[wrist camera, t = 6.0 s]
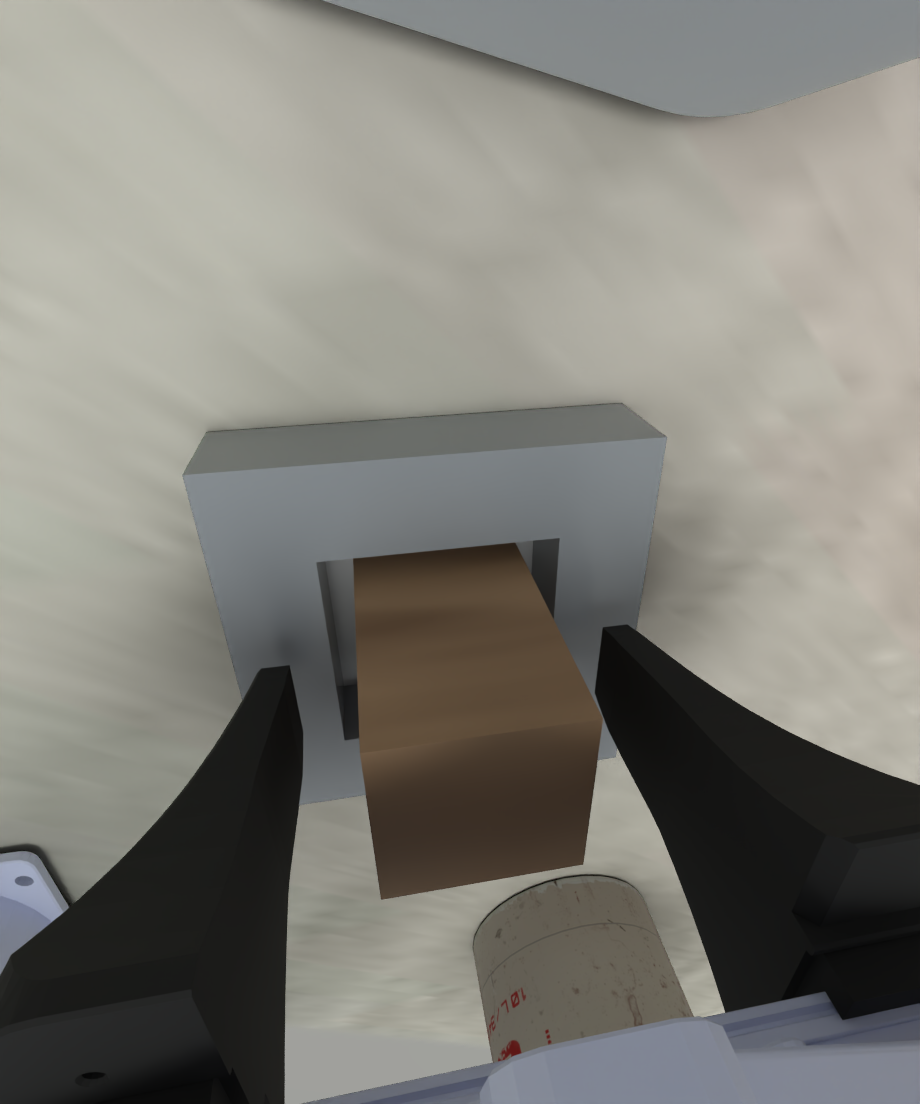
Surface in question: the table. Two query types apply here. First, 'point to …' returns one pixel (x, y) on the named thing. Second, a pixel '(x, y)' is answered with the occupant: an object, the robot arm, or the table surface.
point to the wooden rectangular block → (468, 721)
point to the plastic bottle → (677, 44)
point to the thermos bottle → (572, 965)
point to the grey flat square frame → (415, 538)
